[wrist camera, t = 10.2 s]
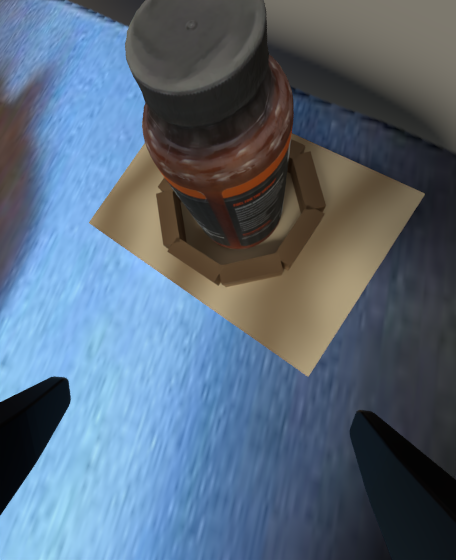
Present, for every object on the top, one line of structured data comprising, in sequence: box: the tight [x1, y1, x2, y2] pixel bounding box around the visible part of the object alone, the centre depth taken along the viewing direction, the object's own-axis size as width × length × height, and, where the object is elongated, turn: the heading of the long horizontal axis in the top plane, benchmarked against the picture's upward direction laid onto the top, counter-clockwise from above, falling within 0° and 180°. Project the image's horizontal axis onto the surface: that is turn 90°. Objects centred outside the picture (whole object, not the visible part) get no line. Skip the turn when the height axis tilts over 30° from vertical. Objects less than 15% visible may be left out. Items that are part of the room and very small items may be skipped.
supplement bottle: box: [125, 0, 294, 249], centre depth 12 cm, size 6×6×11 cm
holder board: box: [89, 134, 425, 376], centre depth 17 cm, size 20×14×3 cm
